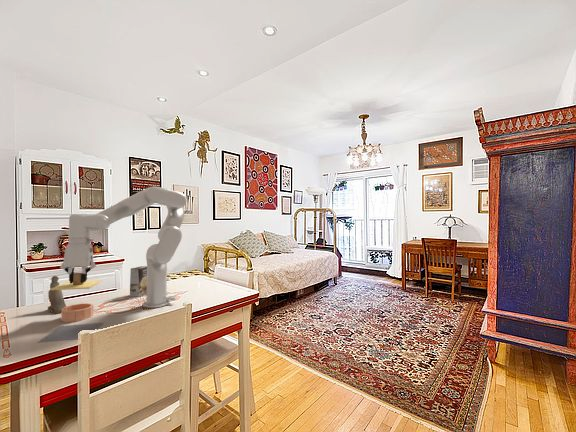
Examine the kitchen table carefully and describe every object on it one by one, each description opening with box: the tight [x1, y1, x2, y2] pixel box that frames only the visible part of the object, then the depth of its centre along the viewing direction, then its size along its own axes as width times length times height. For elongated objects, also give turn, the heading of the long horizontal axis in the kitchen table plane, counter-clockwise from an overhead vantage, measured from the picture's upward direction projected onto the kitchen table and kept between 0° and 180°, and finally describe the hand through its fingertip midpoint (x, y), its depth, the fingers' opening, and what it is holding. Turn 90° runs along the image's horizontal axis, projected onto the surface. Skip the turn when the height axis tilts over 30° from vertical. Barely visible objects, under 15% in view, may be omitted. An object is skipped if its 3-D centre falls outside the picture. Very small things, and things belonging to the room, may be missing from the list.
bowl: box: [60, 302, 94, 323], centre depth 125 cm, size 11×11×5 cm
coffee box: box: [129, 265, 147, 298], centre depth 164 cm, size 9×6×16 cm
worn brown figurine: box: [47, 275, 67, 315], centre depth 135 cm, size 12×6×18 cm, turn 54°
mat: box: [36, 322, 105, 344], centre depth 109 cm, size 16×16×1 cm
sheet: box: [51, 271, 103, 291], centre depth 125 cm, size 14×14×6 cm
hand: (78, 282), depth 125 cm, fingers closed on sheet, 3 cm apart
